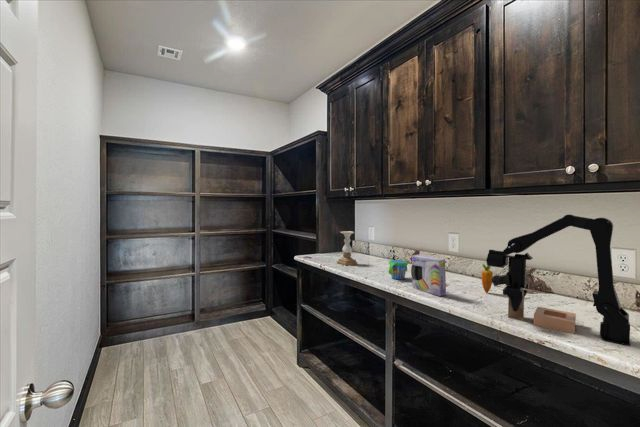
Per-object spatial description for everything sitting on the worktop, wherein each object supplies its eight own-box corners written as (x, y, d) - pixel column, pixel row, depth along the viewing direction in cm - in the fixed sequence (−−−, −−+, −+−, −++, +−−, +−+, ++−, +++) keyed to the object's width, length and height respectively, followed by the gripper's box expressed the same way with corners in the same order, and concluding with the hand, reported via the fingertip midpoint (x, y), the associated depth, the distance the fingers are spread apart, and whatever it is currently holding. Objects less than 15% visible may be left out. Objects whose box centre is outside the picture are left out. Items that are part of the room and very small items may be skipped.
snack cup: (399, 275, 192) (400, 258, 192) (413, 278, 184) (414, 261, 183) (382, 278, 183) (382, 261, 183) (395, 282, 175) (396, 264, 174)
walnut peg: (523, 317, 121) (524, 291, 120) (521, 320, 117) (522, 294, 117) (510, 314, 124) (510, 289, 123) (508, 317, 120) (508, 292, 120)
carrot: (480, 293, 153) (481, 263, 153) (481, 291, 158) (482, 261, 157) (491, 295, 151) (492, 264, 150) (492, 292, 155) (493, 262, 154)
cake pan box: (410, 287, 163) (410, 254, 163) (417, 286, 166) (417, 253, 165) (439, 297, 146) (439, 260, 146) (446, 296, 149) (447, 259, 148)
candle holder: (357, 264, 226) (357, 232, 225) (345, 266, 220) (345, 232, 219) (348, 262, 235) (348, 230, 235) (336, 263, 229) (336, 231, 229)
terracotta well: (575, 324, 114) (575, 313, 114) (574, 333, 105) (574, 322, 105) (537, 316, 121) (537, 306, 121) (533, 325, 113) (533, 314, 113)
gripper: (498, 263, 132) (497, 300, 133) (488, 270, 118) (487, 310, 119) (530, 267, 125) (529, 305, 125) (522, 274, 111) (521, 318, 111)
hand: (516, 309), depth 120 cm, fingers closed on walnut peg, 4 cm apart
